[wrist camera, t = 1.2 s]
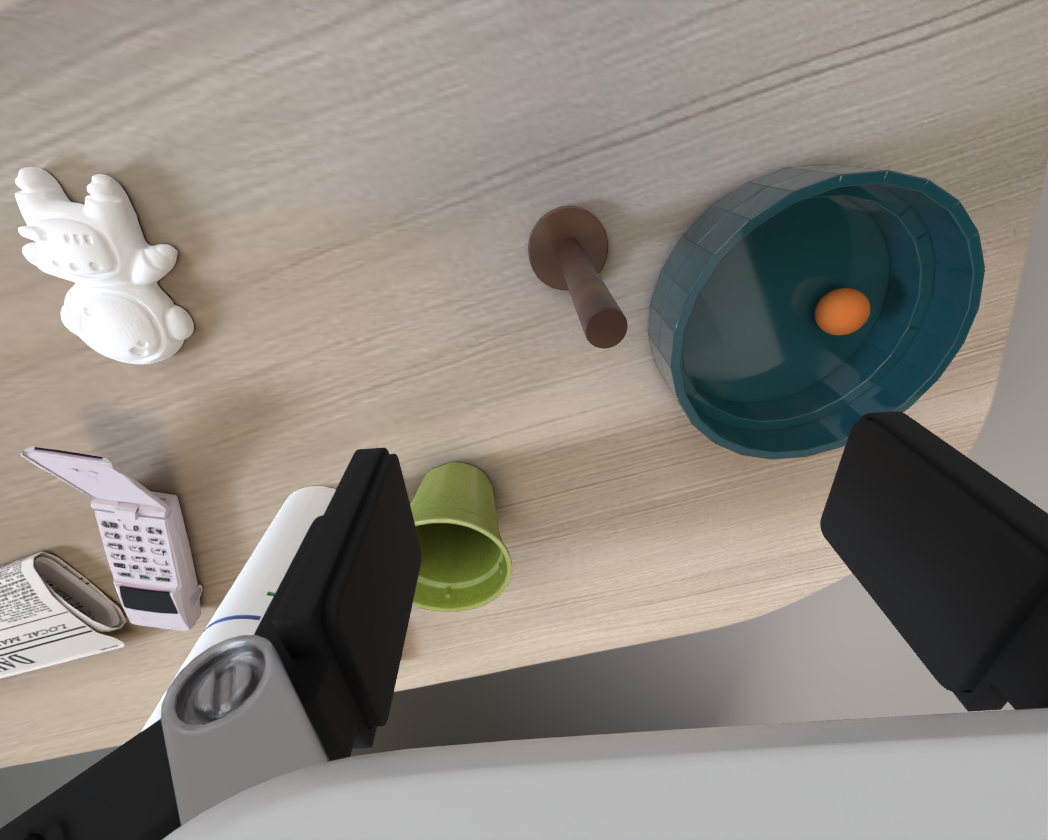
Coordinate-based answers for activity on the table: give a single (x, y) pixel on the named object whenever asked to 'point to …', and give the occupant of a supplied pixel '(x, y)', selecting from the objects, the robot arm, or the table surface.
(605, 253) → the stirring stick
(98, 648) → the newspaper
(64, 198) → the white toy figurine
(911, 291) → the bowl
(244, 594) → the cylindrical container
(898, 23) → the table surface
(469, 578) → the plant pot
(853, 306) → the ball
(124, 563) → the mobile phone
